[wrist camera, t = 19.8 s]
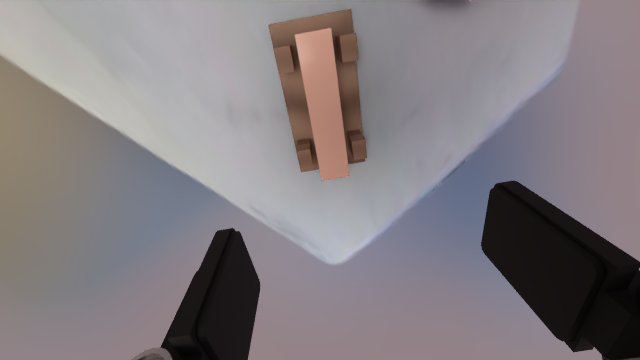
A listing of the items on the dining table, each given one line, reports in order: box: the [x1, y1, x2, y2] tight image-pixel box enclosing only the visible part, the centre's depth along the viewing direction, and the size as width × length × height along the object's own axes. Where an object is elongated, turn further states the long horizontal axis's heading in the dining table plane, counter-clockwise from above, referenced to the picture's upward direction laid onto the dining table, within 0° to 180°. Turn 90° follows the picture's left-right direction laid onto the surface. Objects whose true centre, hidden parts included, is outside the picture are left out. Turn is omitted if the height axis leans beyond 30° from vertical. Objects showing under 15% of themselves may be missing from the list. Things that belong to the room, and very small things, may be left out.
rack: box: [268, 9, 367, 172], centre depth 31 cm, size 18×9×5 cm, turn 9°
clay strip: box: [295, 28, 350, 181], centre depth 30 cm, size 16×4×4 cm, turn 9°
